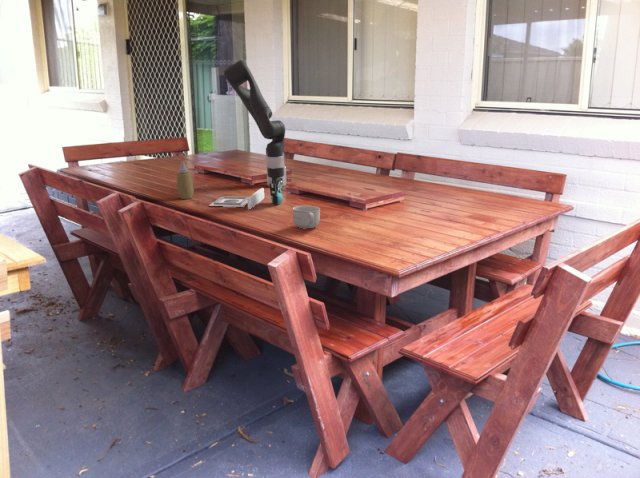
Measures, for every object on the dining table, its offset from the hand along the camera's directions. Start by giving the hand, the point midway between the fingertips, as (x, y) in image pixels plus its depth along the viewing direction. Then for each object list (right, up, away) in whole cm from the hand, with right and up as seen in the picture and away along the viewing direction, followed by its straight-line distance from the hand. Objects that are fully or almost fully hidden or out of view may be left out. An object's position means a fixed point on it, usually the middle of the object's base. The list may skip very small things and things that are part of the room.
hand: (277, 202), depth 275 cm
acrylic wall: (-10, 0, +2) cm, 10 cm away
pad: (-21, 0, +4) cm, 22 cm away
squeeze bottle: (-45, +3, +17) cm, 49 cm away
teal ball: (0, +2, -1) cm, 2 cm away
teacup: (+15, -13, -40) cm, 44 cm away
